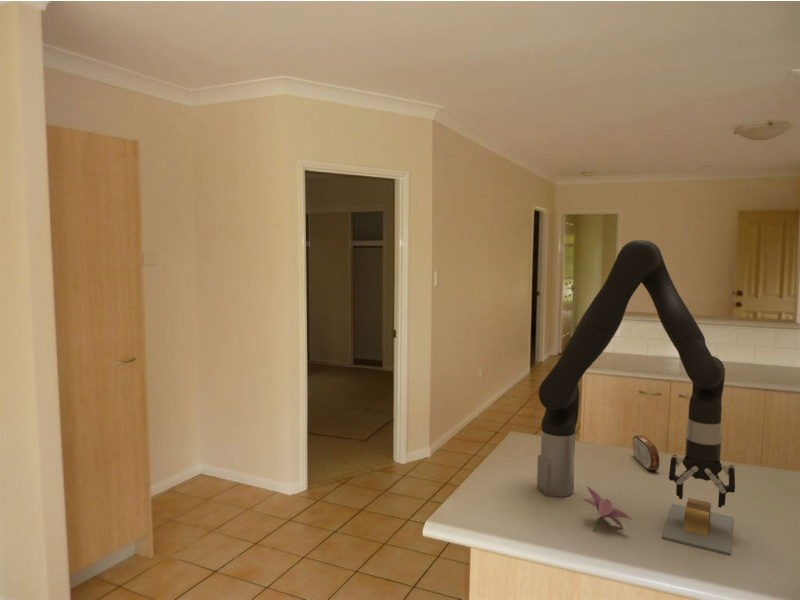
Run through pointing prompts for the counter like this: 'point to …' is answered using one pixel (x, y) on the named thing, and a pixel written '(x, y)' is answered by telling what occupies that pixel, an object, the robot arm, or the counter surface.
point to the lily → (605, 508)
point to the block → (697, 516)
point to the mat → (713, 541)
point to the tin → (646, 452)
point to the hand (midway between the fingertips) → (700, 502)
